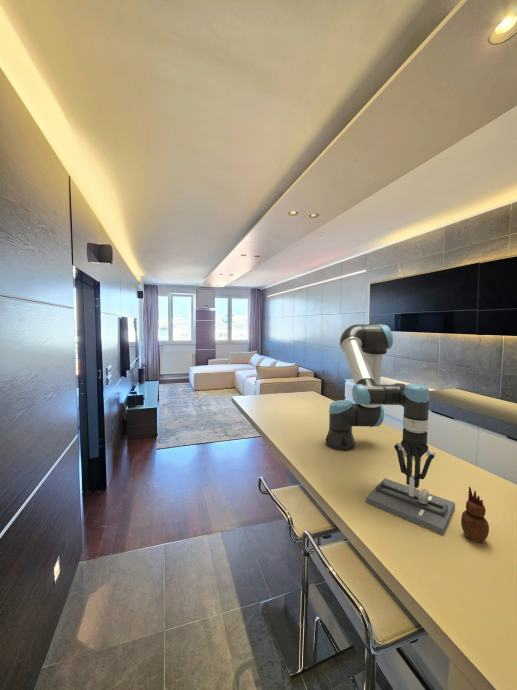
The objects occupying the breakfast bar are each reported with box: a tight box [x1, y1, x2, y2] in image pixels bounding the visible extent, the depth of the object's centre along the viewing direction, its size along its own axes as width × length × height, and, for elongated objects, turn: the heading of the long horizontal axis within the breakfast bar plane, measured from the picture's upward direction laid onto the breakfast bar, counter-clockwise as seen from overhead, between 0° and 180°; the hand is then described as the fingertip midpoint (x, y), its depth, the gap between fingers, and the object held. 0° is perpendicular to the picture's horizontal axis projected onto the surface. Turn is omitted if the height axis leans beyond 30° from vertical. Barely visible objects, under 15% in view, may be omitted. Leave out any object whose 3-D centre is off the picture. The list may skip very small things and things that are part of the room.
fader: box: [417, 488, 429, 507], centre depth 101 cm, size 3×4×5 cm, turn 137°
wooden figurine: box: [460, 486, 490, 544], centre depth 88 cm, size 7×6×15 cm
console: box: [365, 478, 456, 536], centre depth 104 cm, size 24×18×4 cm
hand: (412, 494), depth 104 cm, fingers closed
